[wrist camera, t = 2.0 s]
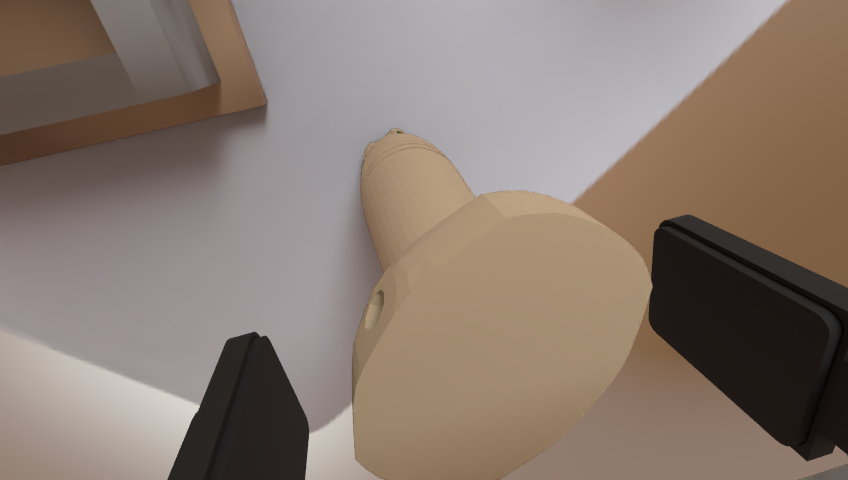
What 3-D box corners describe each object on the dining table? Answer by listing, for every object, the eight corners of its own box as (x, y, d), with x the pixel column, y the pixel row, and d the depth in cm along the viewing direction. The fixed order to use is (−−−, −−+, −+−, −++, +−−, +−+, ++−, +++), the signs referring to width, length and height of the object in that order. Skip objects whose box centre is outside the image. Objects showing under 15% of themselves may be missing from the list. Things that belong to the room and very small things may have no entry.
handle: (465, 123, 20) (700, 276, 7) (407, 229, 22) (510, 502, 9) (378, 75, 19) (480, 163, 5) (324, 195, 21) (303, 471, 7)
